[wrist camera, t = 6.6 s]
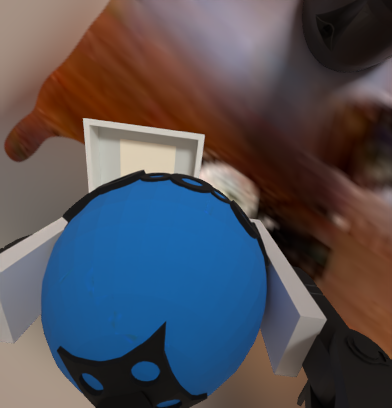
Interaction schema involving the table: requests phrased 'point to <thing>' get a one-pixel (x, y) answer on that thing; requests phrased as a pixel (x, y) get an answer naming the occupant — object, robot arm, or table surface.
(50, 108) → the table surface
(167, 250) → the ornament
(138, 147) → the bin
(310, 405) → the robot arm
